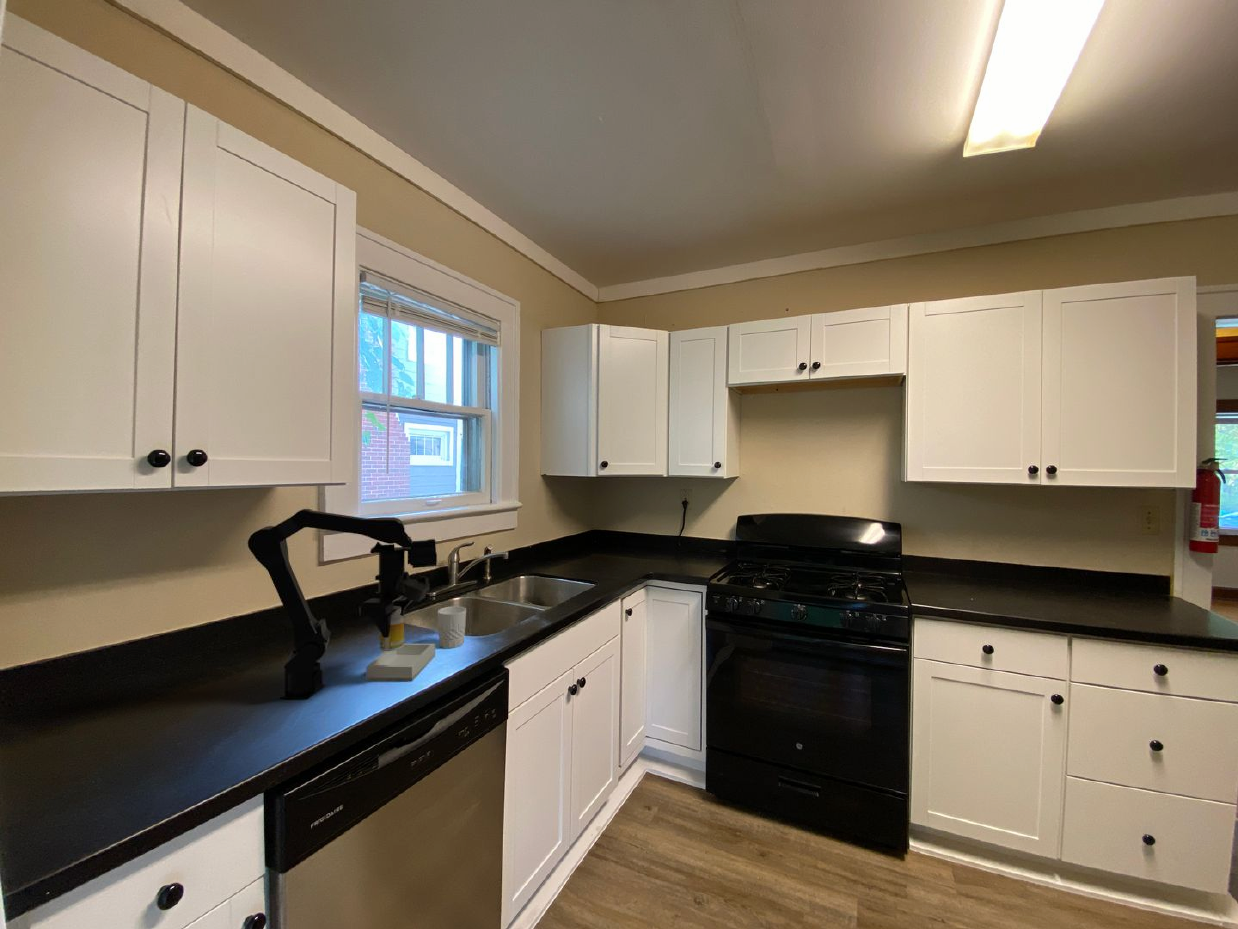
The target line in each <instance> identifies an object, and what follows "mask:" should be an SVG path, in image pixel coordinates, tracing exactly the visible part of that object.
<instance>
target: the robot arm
mask: <svg viewBox="0 0 1238 929" xmlns="http://www.w3.org/2000/svg"><path fill="white" fill-rule="evenodd" d="M306 528H311V529H318V530H323V531H330V532H331V531H332V532H339V533H340V532H341V533H347V534H355V535H360V536H364V537H367V538H370V539H373V540H376V541H377V542H376V543H375V545H374V546H373V547H371V548H370V551H369V552H370V554H378V574H377V575H374V581H378V591H376V592H375V593H374V597H375V598H369V599H367V600H366V601H363V602H362V603H361V604H360V605H359V606H358V607H359V608H358V609H359V616H370V617H371V619H372V620H373V622H374V623H375V625H376V627H377V629H378V630H379V633H380V632H381V634H382V636H383V637H384V638H388V637H389V632H390V624H391V616H392V615H393V614H394V613H395V612H396V611H397V609H393V606H400V607H401V613H400V615H402V616H403V617H404V615H405V613H406V611H407V607H408V606H409V605H410V603H412V602H415V603H420V602H421V600H423V599H425V598H426V596H427V592H429V590H431V587H430V585H431V584H430V581H429V577H428V576H427V577H426V576H425V575H422V576H420V577H419V578H418V579H416V578H415V579H414V578H413V579H412V578H410V573H409V571H406V570H405V567H406V566H405V559H406V558H405V555H406V554H405V553H406V552H407V565H410V566H412V569H415V568H416V569H417V568H418V569H419V568H428V567H429V568H430V567H437V566H438V564H437V563H438V553H437V549H436V548H437V546H436V539H435V538H430V539H423V540H412V538H411V536H409V535H408V533H407V532H406V531H405V524H404V522H403V521H402V520H401V519H400V518H398V517H391V516H390V517H358V516H354V515H346V514H338V513H331V512H324V511H318V510H313V509H311V508H302V509H300V510H298V511H296V512H295V514H294V515H292V516H290V517H288V518H287V519H284V520H283V521H281V522H280V523H278V524H276V525H268V526H264V527H262V528H261V529H259V530H256V531H253V533H251V534H250V537H249V538H248V540H247V548H248V549H249V551H250V552H251V553H252V555H253V557H254V558H255V559H256V560H257V562H258V563H260V565H261V566H262V567H264V569H265V570H266V571H267V572H268V575H269V577H270V579H271V582H272V583H273V586H274V587H275V590H276V592H277V595H278V598H279V599H280V601H281V605H282V606H283V609H284V610H285V613H286V615H287V618H288V620H289V622H290V624H291V627H292V637H293V646H294V650H292V651H291V653H290V654H289V656H288V658H287V660H286V662H285V663H284V666H283V668H284V692H283V693H282V694H281V695H279V699H285V700H286V699H289V700H290V699H294V700H297V699H299V700H300V699H301V700H302V699H303V700H305V699H306V700H307V699H310V698H311V697H312V696H314V695H316V694H317V692H319V691H320V690H322V689H323V688H324V687H325V683H323V669H321V662H318V661H319V660H320V659H322V657H323V656H324V655H325V654H326V650H327V648H328V645H329V643H330V636H331V633H332V631H330V630H329V629H328V627H327V623H326V619H325V618H322V619H320V620H317V619H316V618H315V616H314V615H313V614H312V612H311V610H310V608H309V604H308V602H307V600H306V598H305V596H304V593H303V591H302V589H301V587H300V583H299V582H298V580H297V577H296V575H295V574H296V573H295V572H294V570H293V568H292V565H291V563H290V560H289V559H290V558H289V547H288V546H289V545H288V542H287V539H288V538H290V537H291V536H293V535H294V534H295V535H296V533H298V532H300V531H302V530H303V529H306ZM381 542H382V543H385V544H381ZM395 544H396V545H398V546H399V547H398V546H396V547H395Z"/></svg>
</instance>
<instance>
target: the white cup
mask: <svg viewBox="0 0 1238 929" xmlns="http://www.w3.org/2000/svg"><path fill="white" fill-rule="evenodd" d="M466 620H467V608H466V607H464V606H458V605H456V606H455V605H452V606H445V607H442V608H440V609H438V610H437V627H438V628H437V631H438V642H439V646H440V647H441V648H442V649H456V648H458V647H459V648H460V647H461V646H463V645H464V643H465V634H466V632H465V631H466Z"/></svg>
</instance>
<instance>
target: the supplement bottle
mask: <svg viewBox="0 0 1238 929" xmlns="http://www.w3.org/2000/svg"><path fill="white" fill-rule="evenodd" d="M393 609H397V611H396V612H395V613H394V614H393V615H392V616H391V624H390V632H389V637H388V638H384V637H383V636H382V634H381V632H380V631H379V650H380V651H382V652H385V651H395V650H399V649H401V648H402V647H403V646H404V644H405V618H404V617H403V616H402V615H400V613H401V607H400V606H393Z"/></svg>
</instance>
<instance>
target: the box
mask: <svg viewBox="0 0 1238 929" xmlns="http://www.w3.org/2000/svg"><path fill="white" fill-rule="evenodd" d="M435 657H436V643H404V646H403V647H402V648H401V649H399V650H395V651H383V652H382V653H381V654H380V655H379V656H377V657H376V659H374V660H373V661H371V662H370V663H369V664H368V665H367V666H366V674H365V675H366V678H365V679H366V682H413V681H414V680H415V679H416V678H417V676H418V675H419V674H420V673H421V672H422V671H423V670H424V669H425V668H426V667H427V666H428V664H430V662H432V660H433V659H434V658H435Z"/></svg>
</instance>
